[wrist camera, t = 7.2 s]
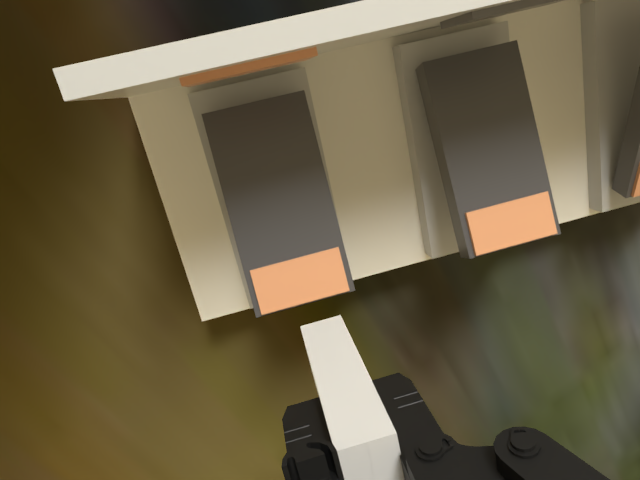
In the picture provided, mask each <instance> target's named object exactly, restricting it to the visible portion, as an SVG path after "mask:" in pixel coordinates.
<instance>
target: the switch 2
mask: <svg viewBox="0 0 640 480" xmlns="http://www.w3.org/2000/svg"><path fill="white" fill-rule="evenodd" d="M415 71H416V75H417V79H418V83H419V87H420V91H421V96H422V100H423V104H424V108H425V112H426V116H427V121H428V125H429V129H430V133H431V137H432V141H433V145H434V150H435V154H436V158H437V162H438V166H439V170H440V174H441V179H442V183H443V187H444V191H445V195H446V199H447V203H448V208H449V212H450V216H451V220H452V224H453V228H454V232H455V237H456V241H457V245H458V249H459V253H460V257H461V258H467V259H472V258H475V257H479V256H482V255H486V254H490V253H493V252H497V251H501V250H504V249H508V248H511V247H515V246H519V245H522V244H526V243H530V242H533V241H537V240H540V239H544V238H548V237H551V236H555V235H559V234H561V231H560V227H559V222H558V218H557V213H556V209H555V205H554V200H553V196H552V191H551V187H550V183H549V178H548V174H547V169H546V165H545V161H544V156H543V152H542V148H541V143H540V139H539V134H538V130H537V126H536V121H535V117H534V112H533V108H532V104H531V99H530V95H529V90H528V86H527V82H526V77H525V73H524V69H523V64H522V60H521V55H520V51H519V47H518V42H517V40H515V41H511V42H506V43H502V44H498V45H494V46H489V47H485V48H481V49H476V50H472V51H468V52H464V53H459V54H455V55H451V56H447V57H442V58H438V59H434V60H430V61H425V62H422V63H421V64H420V65H419V66H418V67H417V68H416V69H415Z"/></svg>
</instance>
